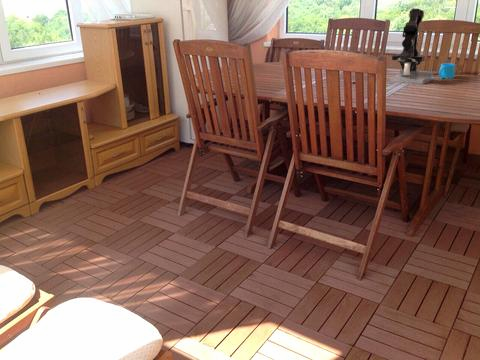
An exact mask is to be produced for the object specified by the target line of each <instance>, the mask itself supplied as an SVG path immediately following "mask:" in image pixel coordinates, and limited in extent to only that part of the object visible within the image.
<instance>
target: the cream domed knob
mask: <svg viewBox="0 0 480 360" xmlns="http://www.w3.org/2000/svg"><path fill="white" fill-rule="evenodd" d="M410 67H411V63H404V74H403V75H410Z"/></svg>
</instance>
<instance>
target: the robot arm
mask: <svg viewBox="0 0 480 360" xmlns="http://www.w3.org/2000/svg"><path fill="white" fill-rule="evenodd" d="M408 17H409V19H408V22H406V23H405V25H404V26H403V31H402V38H404V39H403V40H402V43H401V45H402V52H401V53H399V54H397V53H396V54H393V55H392V56H391V60H392V61H397V62H399V64H400V66H401V70H403V72H404V63H411V67H410V73H411V72H412V71H417V69H418V68H417V67H418V65H421V62H424V61H425V60H426V57H425V55H420V52H419V50H418V40H419V32H420V31H419V30H420V25H421V23H422V22H423V19H424V17H425V11H424V10H422V9H420V8H411V9H410V10H409V14H408Z"/></svg>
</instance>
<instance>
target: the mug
mask: <svg viewBox="0 0 480 360" xmlns="http://www.w3.org/2000/svg"><path fill="white" fill-rule="evenodd" d="M455 70H456V63H452V62H451V63H450V62H449V63H448V62H446V63H445V62H444V63H441V64H440V68H439V71H438V75H439V78H441V79H444V78H451V79H454V78H455V72H456V71H455Z"/></svg>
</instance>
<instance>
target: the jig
mask: <svg viewBox="0 0 480 360" xmlns="http://www.w3.org/2000/svg"><path fill="white" fill-rule="evenodd" d="M433 73H434V72H433V71H432V72H431V71H419V70H416V71H412V72H411V73H410V75H403V74H404V72H403V70H402V69H400V70H399V73H398V74H396V75H393V76H391V77H390V83H391V82H392V83H403V84H405V83H406V84H413V85H424V84H426V83H429V82H431V81H432V80H433Z"/></svg>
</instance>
